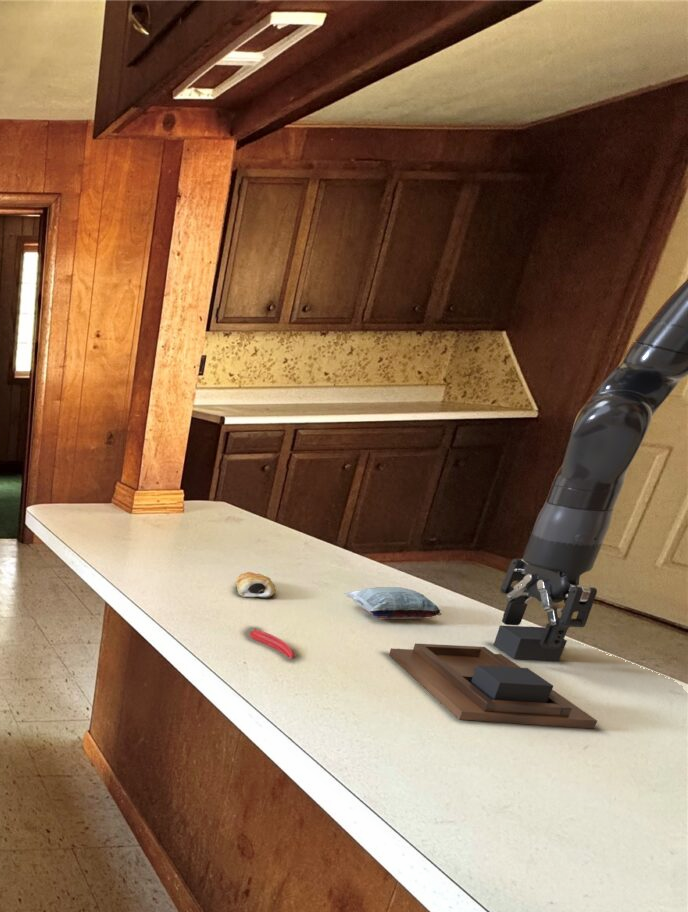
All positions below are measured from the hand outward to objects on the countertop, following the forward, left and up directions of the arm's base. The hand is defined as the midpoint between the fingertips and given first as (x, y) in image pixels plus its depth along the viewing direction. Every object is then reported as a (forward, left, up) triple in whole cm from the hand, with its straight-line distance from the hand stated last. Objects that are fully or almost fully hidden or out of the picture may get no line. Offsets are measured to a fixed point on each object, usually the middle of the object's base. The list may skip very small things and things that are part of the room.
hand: (528, 635), depth 102 cm
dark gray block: (-1, 0, -3) cm, 3 cm away
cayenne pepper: (+36, +1, -4) cm, 37 cm away
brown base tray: (+12, +13, -3) cm, 18 cm away
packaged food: (+12, -14, -3) cm, 19 cm away
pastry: (+32, -23, -3) cm, 40 cm away
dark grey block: (+12, +18, -2) cm, 22 cm away
